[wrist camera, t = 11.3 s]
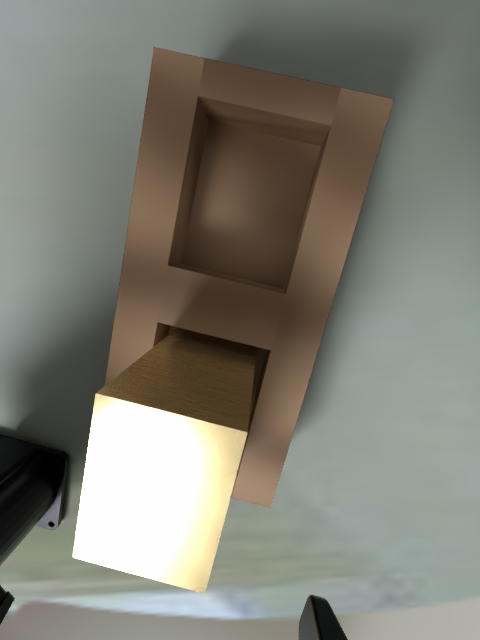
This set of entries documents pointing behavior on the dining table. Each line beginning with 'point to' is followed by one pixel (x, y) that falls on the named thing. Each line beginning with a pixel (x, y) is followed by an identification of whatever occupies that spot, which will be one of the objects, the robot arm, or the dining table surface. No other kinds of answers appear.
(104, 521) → the tan block
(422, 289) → the dining table surface
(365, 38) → the dining table surface
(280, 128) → the recessed tan tray
